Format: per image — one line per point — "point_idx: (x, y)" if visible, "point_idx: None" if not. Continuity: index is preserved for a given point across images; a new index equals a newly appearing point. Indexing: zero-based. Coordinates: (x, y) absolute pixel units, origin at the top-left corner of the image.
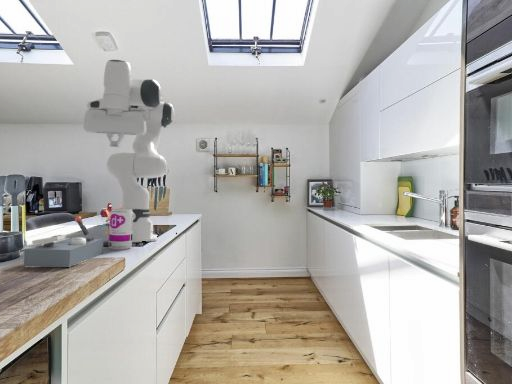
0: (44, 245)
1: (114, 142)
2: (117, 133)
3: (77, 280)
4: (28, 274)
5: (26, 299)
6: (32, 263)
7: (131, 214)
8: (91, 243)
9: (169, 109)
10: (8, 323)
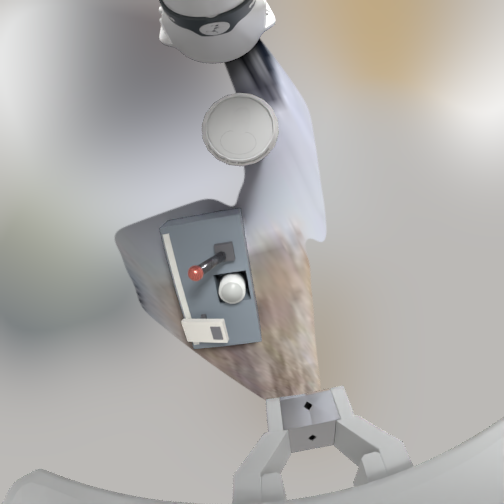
0: None
1: (313, 438)
2: (337, 498)
3: (305, 364)
4: (234, 357)
5: None
6: None
7: (278, 133)
8: (249, 272)
9: None
10: None
